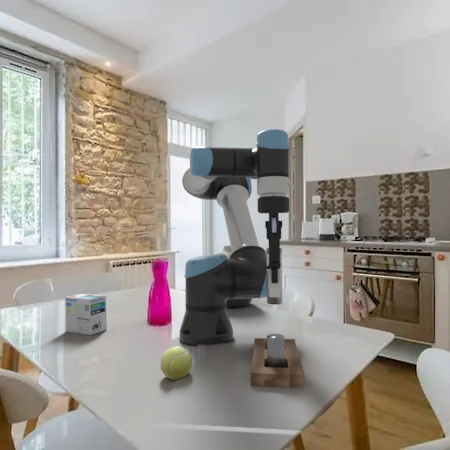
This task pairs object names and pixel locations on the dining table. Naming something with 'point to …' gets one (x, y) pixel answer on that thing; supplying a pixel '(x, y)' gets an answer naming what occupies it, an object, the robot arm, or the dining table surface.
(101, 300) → the light bulb box
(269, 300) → the stud
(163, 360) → the tennis ball
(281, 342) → the seated stud
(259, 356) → the socket board
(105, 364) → the dining table surface
